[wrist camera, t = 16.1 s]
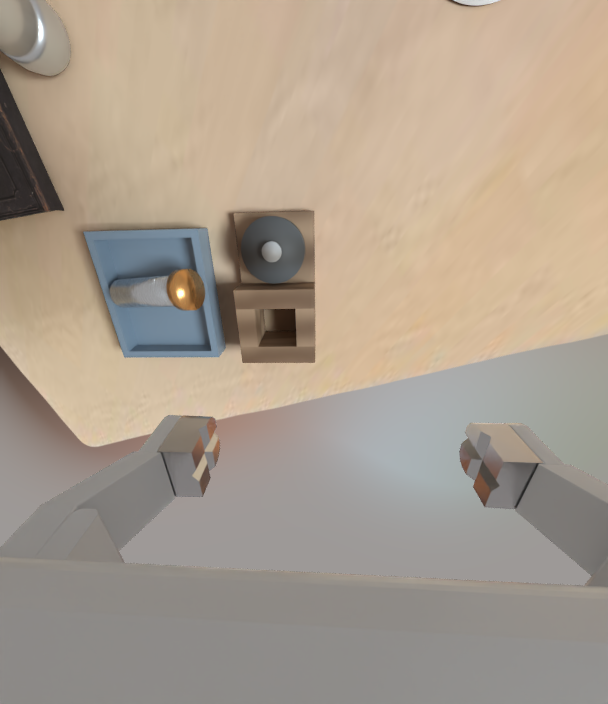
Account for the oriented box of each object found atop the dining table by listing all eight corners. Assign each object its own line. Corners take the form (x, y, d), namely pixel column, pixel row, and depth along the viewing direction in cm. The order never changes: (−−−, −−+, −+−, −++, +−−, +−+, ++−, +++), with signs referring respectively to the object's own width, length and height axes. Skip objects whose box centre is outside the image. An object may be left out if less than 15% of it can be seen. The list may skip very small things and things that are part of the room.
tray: (102, 230, 39) (83, 231, 36) (207, 228, 39) (197, 228, 35) (137, 348, 47) (124, 357, 44) (225, 347, 46) (219, 357, 43)
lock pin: (99, 277, 37) (171, 271, 33) (133, 272, 41) (200, 267, 37) (112, 316, 39) (182, 314, 35) (143, 307, 43) (208, 305, 39)
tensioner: (236, 213, 38) (222, 212, 32) (314, 211, 37) (313, 209, 32) (251, 345, 46) (242, 362, 40) (315, 345, 45) (314, 362, 40)
